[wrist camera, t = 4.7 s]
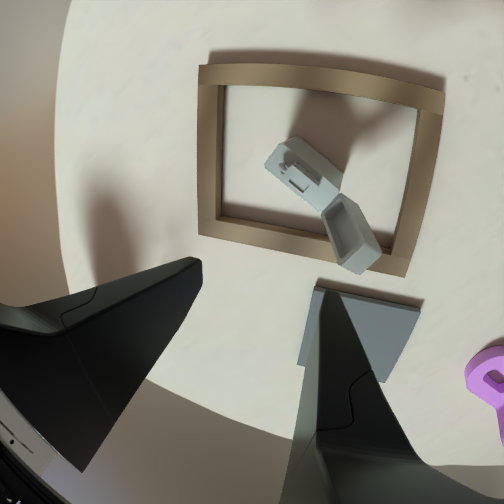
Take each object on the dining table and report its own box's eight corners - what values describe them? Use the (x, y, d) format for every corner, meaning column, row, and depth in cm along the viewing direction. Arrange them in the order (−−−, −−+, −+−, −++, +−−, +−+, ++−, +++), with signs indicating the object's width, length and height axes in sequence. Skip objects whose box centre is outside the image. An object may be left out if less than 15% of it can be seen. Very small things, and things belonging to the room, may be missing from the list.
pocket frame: (441, 93, 14) (445, 92, 13) (403, 270, 21) (404, 277, 20) (205, 66, 18) (198, 64, 18) (204, 229, 25) (198, 234, 24)
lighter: (281, 153, 20) (237, 182, 13) (296, 134, 19) (259, 152, 12) (360, 220, 20) (357, 283, 14) (376, 203, 19) (383, 260, 13)
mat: (419, 308, 21) (420, 312, 21) (385, 378, 26) (384, 382, 25) (314, 286, 24) (313, 290, 23) (298, 360, 28) (296, 364, 28)
